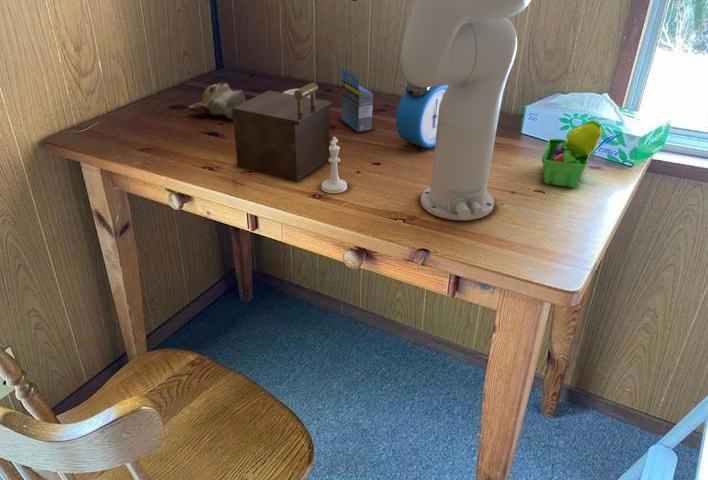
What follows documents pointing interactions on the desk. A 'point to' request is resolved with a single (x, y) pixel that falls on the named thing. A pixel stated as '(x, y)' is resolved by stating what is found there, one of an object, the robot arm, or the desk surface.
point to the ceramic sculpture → (218, 100)
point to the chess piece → (334, 172)
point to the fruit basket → (570, 154)
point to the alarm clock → (419, 114)
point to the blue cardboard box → (356, 103)
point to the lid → (285, 105)
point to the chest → (282, 145)
